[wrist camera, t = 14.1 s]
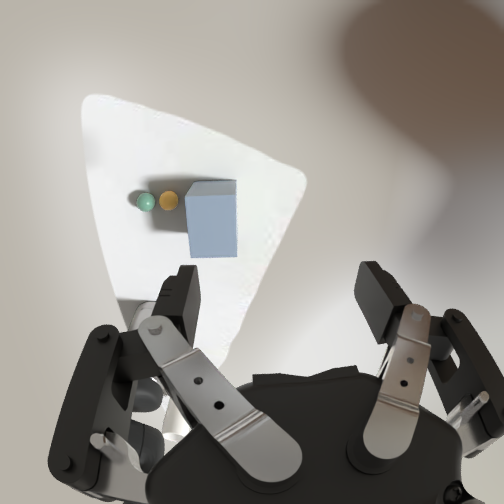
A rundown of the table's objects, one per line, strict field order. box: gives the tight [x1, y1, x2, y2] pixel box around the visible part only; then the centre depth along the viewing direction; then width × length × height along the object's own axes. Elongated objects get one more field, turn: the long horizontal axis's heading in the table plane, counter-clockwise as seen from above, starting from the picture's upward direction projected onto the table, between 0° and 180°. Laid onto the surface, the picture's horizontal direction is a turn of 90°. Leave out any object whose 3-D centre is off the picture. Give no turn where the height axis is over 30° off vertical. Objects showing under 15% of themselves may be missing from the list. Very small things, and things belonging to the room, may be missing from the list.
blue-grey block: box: [185, 180, 237, 258], centre depth 39 cm, size 9×6×8 cm
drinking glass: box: [162, 398, 190, 442], centre depth 60 cm, size 7×7×15 cm
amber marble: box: [159, 191, 178, 210], centre depth 40 cm, size 3×3×3 cm
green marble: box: [137, 193, 155, 212], centre depth 40 cm, size 3×3×3 cm
